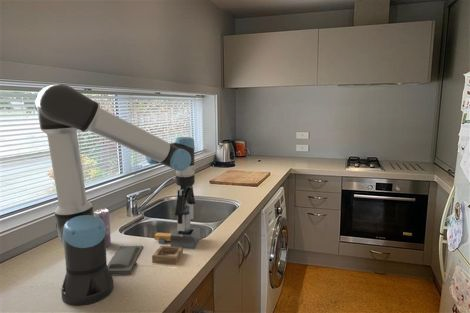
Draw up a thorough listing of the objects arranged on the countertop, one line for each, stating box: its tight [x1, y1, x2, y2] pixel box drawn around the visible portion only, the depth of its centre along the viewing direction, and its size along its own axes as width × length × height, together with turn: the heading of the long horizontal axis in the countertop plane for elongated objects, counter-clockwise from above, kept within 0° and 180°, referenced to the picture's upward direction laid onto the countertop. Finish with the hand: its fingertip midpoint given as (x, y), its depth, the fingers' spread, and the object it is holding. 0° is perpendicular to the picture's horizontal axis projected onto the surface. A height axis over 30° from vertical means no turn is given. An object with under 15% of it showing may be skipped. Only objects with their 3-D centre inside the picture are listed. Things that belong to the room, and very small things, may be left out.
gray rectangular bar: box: [181, 204, 191, 235], centre depth 137 cm, size 4×4×16 cm
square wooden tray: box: [151, 245, 184, 265], centre depth 125 cm, size 9×9×4 cm
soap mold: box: [107, 245, 144, 276], centre depth 124 cm, size 10×20×4 cm, turn 3°
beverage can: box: [93, 208, 112, 248], centre depth 136 cm, size 6×6×15 cm
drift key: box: [154, 232, 172, 242], centre depth 139 cm, size 3×7×2 cm, turn 82°
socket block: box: [158, 227, 201, 250], centre depth 139 cm, size 10×16×6 cm, turn 82°
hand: (185, 224), depth 137 cm, fingers open, 13 cm apart
